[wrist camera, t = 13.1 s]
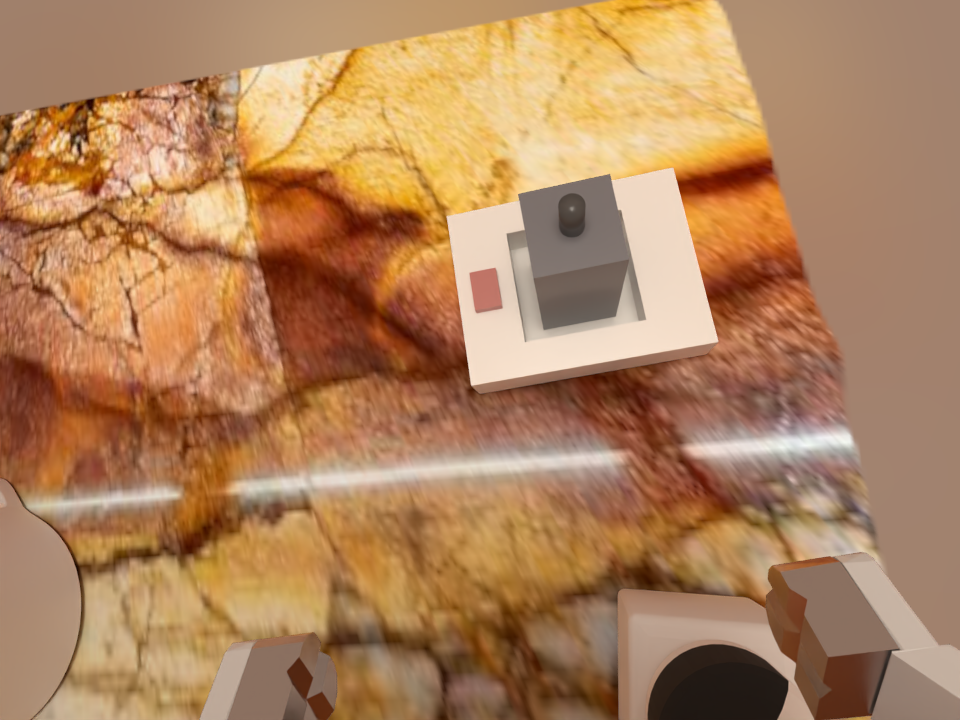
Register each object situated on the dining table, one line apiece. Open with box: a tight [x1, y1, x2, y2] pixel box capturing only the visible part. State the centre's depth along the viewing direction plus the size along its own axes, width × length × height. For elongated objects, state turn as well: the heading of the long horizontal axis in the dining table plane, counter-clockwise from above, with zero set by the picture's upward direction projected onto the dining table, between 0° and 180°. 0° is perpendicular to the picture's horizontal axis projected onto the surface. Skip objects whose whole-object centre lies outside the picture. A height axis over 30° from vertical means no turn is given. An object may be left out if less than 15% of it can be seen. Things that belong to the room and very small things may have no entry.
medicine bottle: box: [618, 588, 814, 720], centre depth 25 cm, size 7×7×12 cm
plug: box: [518, 174, 629, 330], centre depth 30 cm, size 4×4×11 cm
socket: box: [447, 168, 718, 394], centre depth 34 cm, size 14×11×4 cm
